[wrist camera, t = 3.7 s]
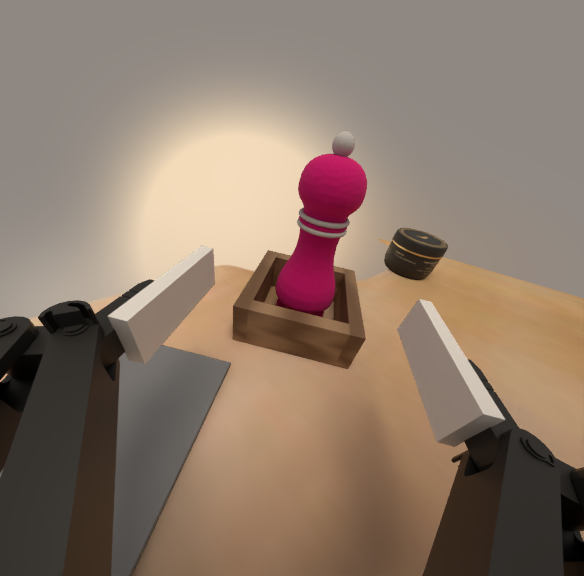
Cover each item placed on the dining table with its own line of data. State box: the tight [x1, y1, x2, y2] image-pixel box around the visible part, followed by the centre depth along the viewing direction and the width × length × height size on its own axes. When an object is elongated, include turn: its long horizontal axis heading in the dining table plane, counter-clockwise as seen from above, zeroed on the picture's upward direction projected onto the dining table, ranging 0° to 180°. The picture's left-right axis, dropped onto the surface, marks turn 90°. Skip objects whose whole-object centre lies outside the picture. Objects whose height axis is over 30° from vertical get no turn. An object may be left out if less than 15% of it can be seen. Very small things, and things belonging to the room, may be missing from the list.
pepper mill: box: [276, 132, 367, 317], centre depth 22 cm, size 7×7×20 cm
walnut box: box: [233, 250, 366, 369], centre depth 26 cm, size 13×13×5 cm
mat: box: [0, 345, 231, 576], centre depth 15 cm, size 13×13×1 cm
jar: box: [384, 228, 448, 280], centre depth 43 cm, size 10×10×8 cm
